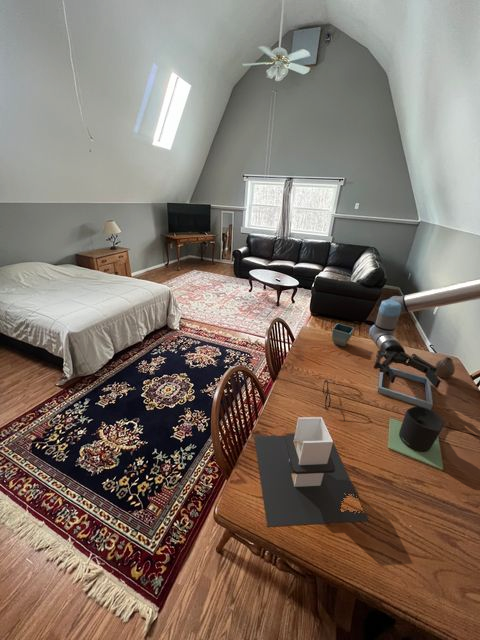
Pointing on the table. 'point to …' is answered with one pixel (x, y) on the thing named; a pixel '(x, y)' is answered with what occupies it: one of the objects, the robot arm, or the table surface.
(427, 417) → the pen holder
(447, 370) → the vase
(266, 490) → the hopper stand
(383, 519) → the table surface
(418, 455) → the mat
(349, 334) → the flower pot
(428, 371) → the robot arm
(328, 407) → the glasses
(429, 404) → the gray square frame
